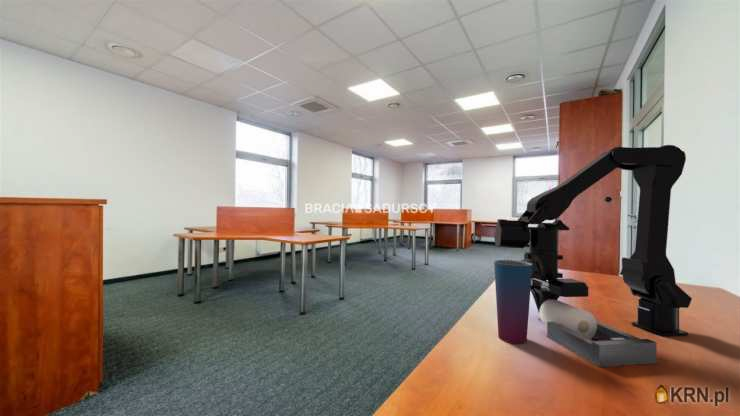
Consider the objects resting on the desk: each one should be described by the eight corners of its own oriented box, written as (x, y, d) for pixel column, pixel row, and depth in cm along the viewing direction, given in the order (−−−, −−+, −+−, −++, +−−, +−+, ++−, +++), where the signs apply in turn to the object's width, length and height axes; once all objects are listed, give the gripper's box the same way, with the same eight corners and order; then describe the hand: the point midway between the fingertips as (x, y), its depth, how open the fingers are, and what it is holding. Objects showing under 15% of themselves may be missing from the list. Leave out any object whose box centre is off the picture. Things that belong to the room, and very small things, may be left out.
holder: (594, 334, 59) (594, 317, 59) (656, 363, 48) (656, 341, 48) (547, 336, 58) (547, 318, 58) (599, 366, 47) (599, 344, 47)
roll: (539, 326, 63) (539, 299, 63) (563, 325, 64) (563, 298, 64) (569, 343, 55) (569, 312, 55) (597, 341, 56) (596, 310, 56)
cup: (537, 348, 53) (537, 266, 53) (497, 344, 54) (498, 264, 55) (525, 333, 60) (525, 260, 60) (490, 330, 61) (490, 259, 61)
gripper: (489, 244, 75) (488, 304, 75) (540, 255, 56) (539, 335, 56) (528, 244, 76) (528, 303, 76) (591, 255, 58) (590, 333, 58)
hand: (543, 316), depth 66 cm, fingers closed
